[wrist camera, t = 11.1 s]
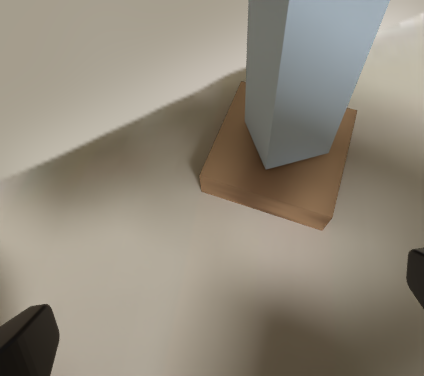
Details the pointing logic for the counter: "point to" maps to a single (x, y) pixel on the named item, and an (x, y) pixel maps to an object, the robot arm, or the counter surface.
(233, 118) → the walnut base block
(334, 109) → the slate pillar
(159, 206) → the counter surface
